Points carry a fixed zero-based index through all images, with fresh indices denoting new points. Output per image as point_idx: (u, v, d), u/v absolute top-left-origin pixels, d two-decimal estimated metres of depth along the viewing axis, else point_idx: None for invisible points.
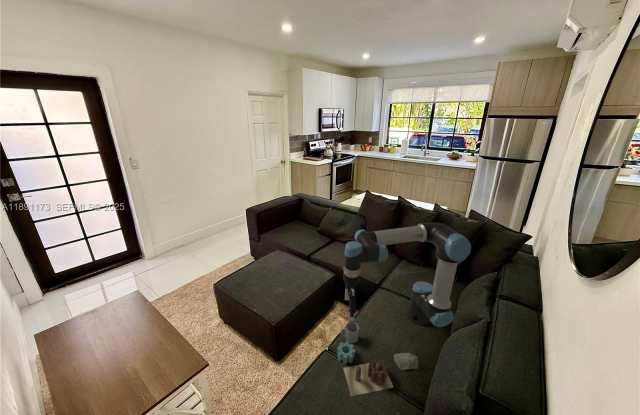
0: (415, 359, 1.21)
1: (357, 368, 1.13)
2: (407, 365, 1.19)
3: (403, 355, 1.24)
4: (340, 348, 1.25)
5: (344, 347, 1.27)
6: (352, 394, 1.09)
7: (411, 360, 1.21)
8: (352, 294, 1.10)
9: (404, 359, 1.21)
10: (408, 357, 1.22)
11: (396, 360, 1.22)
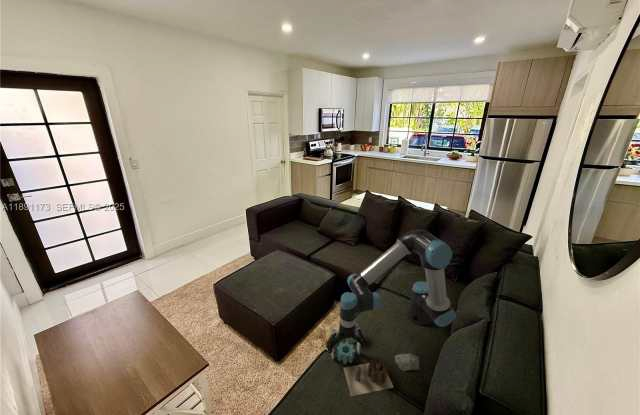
0: (416, 359, 1.21)
1: (357, 368, 1.13)
2: (409, 365, 1.19)
3: (404, 356, 1.23)
4: (340, 348, 1.25)
5: (344, 347, 1.27)
6: (352, 394, 1.09)
7: (412, 361, 1.21)
8: (332, 333, 1.19)
9: (405, 360, 1.21)
10: (409, 358, 1.22)
11: (397, 361, 1.21)
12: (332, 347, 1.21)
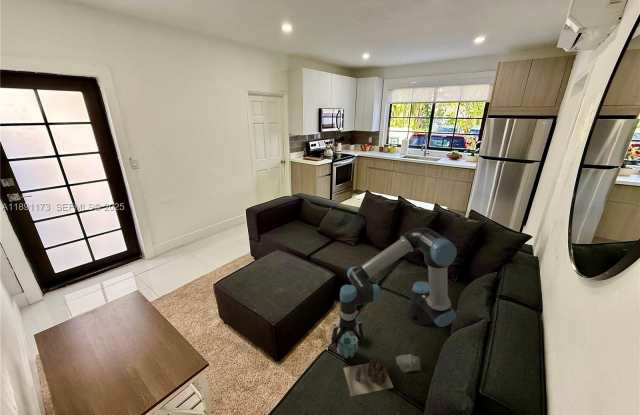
0: (417, 360, 1.21)
1: (357, 368, 1.13)
2: (410, 366, 1.19)
3: (405, 357, 1.23)
4: (341, 340, 1.23)
5: (345, 339, 1.25)
6: (352, 394, 1.09)
7: (413, 361, 1.20)
8: None
9: (406, 361, 1.20)
10: (410, 359, 1.21)
11: (398, 362, 1.21)
12: (337, 342, 1.20)
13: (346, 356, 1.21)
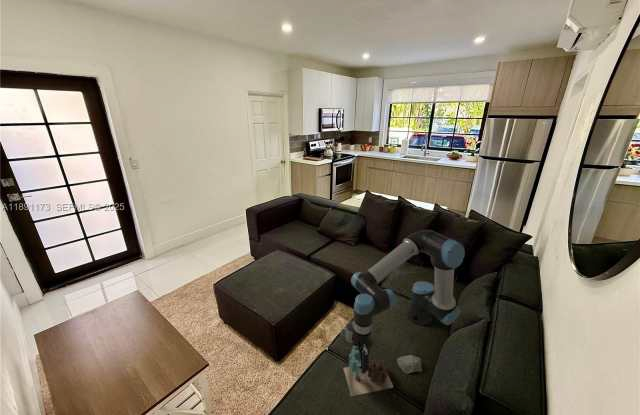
0: (418, 361, 1.20)
1: None
2: (412, 367, 1.18)
3: (406, 358, 1.22)
4: (359, 362, 1.07)
5: None
6: (352, 394, 1.09)
7: (415, 362, 1.20)
8: (365, 354, 1.00)
9: (408, 362, 1.20)
10: (411, 360, 1.21)
11: (400, 364, 1.20)
12: None
13: None
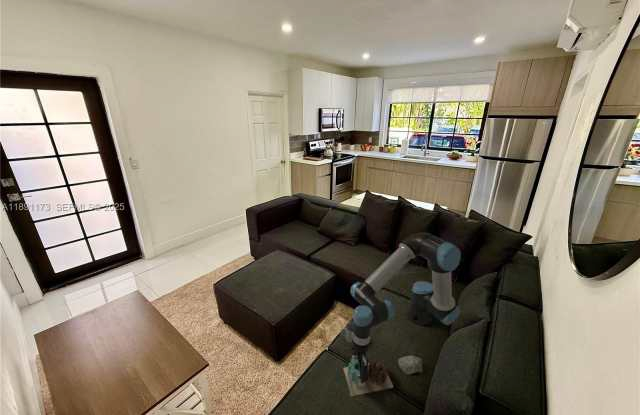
0: (419, 361, 1.20)
1: (357, 368, 1.13)
2: (413, 368, 1.18)
3: (407, 359, 1.22)
4: (358, 372, 1.09)
5: None
6: (352, 394, 1.09)
7: (416, 363, 1.19)
8: (364, 365, 1.02)
9: (409, 363, 1.20)
10: (412, 361, 1.21)
11: (401, 365, 1.19)
12: None
13: None
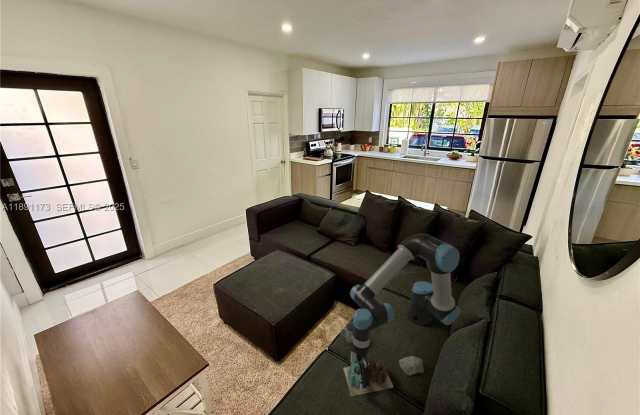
0: (420, 362, 1.20)
1: (357, 368, 1.13)
2: (414, 369, 1.17)
3: (408, 359, 1.22)
4: (358, 376, 1.10)
5: None
6: (352, 394, 1.09)
7: (417, 364, 1.19)
8: (364, 366, 1.02)
9: (410, 364, 1.19)
10: (413, 361, 1.20)
11: (402, 366, 1.19)
12: None
13: None
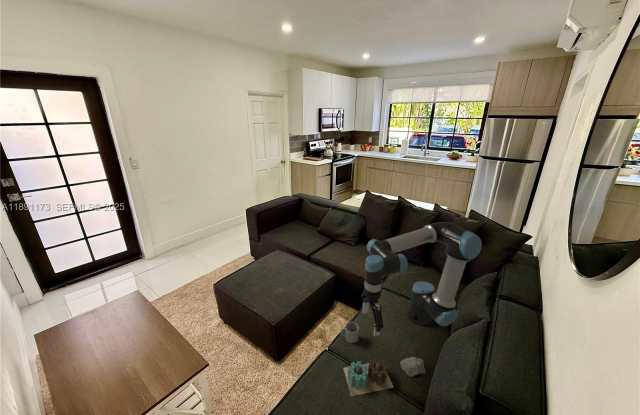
0: (421, 362, 1.20)
1: (357, 368, 1.13)
2: (416, 370, 1.17)
3: (409, 360, 1.21)
4: (358, 376, 1.10)
5: None
6: (352, 394, 1.09)
7: (418, 364, 1.19)
8: (378, 309, 1.06)
9: (411, 365, 1.19)
10: (414, 362, 1.20)
11: (404, 367, 1.18)
12: None
13: None
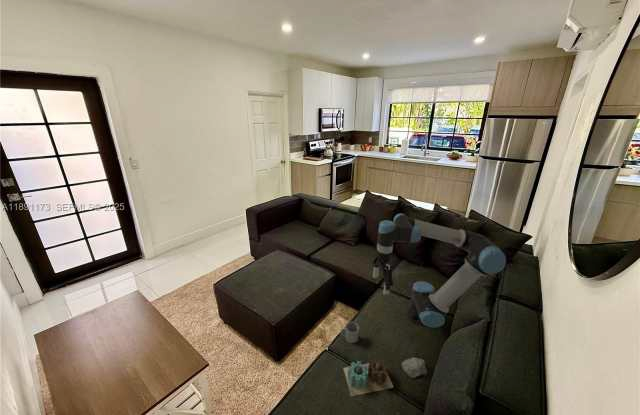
0: (423, 363, 1.19)
1: (357, 368, 1.13)
2: (417, 371, 1.17)
3: (410, 361, 1.21)
4: (358, 376, 1.10)
5: None
6: (352, 394, 1.09)
7: (420, 365, 1.18)
8: (388, 268, 1.19)
9: (413, 366, 1.18)
10: (416, 363, 1.19)
11: (405, 368, 1.18)
12: None
13: None
